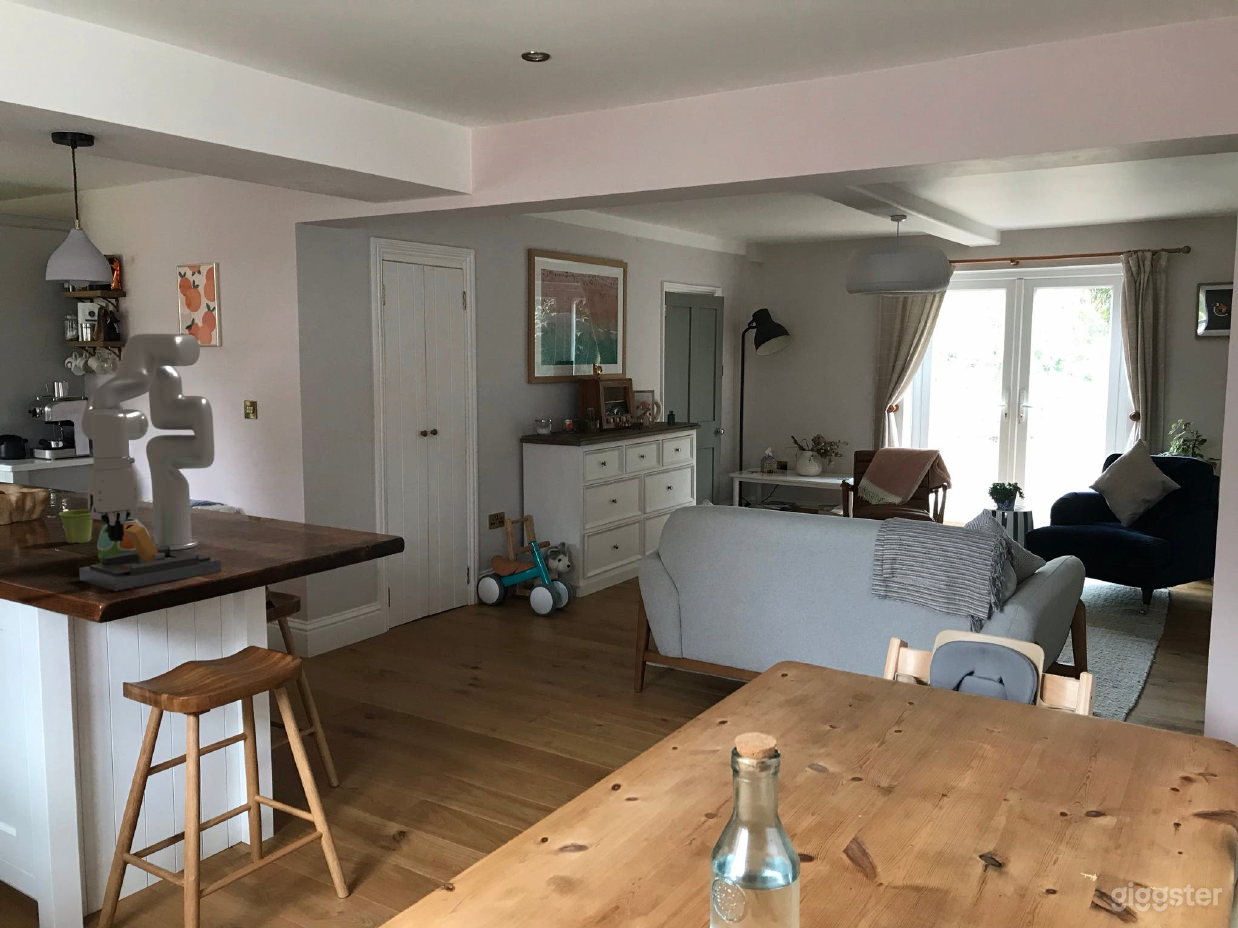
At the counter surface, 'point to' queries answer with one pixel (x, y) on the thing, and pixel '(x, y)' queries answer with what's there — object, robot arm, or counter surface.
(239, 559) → the counter surface
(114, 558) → the stepped grey platform
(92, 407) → the robot arm
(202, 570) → the grey base plate
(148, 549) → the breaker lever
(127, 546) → the turtle holder
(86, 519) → the plant pot
